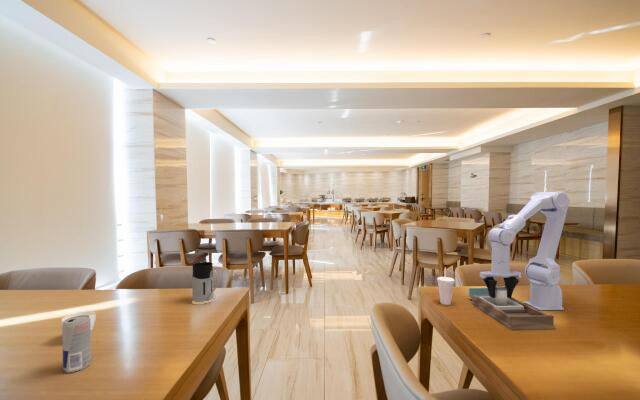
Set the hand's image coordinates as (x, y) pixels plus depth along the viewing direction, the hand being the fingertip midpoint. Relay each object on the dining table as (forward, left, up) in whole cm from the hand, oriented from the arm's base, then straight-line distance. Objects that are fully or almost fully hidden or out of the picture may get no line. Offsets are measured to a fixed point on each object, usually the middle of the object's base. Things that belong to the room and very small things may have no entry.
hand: (500, 297), depth 107 cm
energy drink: (+129, +30, -5) cm, 132 cm away
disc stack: (0, 0, -3) cm, 3 cm away
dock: (0, +6, -5) cm, 7 cm away
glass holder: (+112, -14, -5) cm, 113 cm away
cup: (+140, +14, -5) cm, 141 cm away
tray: (0, -3, -4) cm, 5 cm away
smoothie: (+17, -8, -5) cm, 19 cm away
